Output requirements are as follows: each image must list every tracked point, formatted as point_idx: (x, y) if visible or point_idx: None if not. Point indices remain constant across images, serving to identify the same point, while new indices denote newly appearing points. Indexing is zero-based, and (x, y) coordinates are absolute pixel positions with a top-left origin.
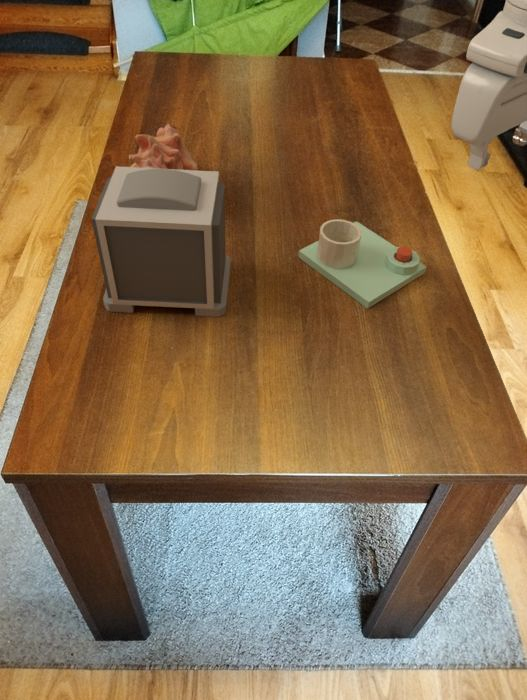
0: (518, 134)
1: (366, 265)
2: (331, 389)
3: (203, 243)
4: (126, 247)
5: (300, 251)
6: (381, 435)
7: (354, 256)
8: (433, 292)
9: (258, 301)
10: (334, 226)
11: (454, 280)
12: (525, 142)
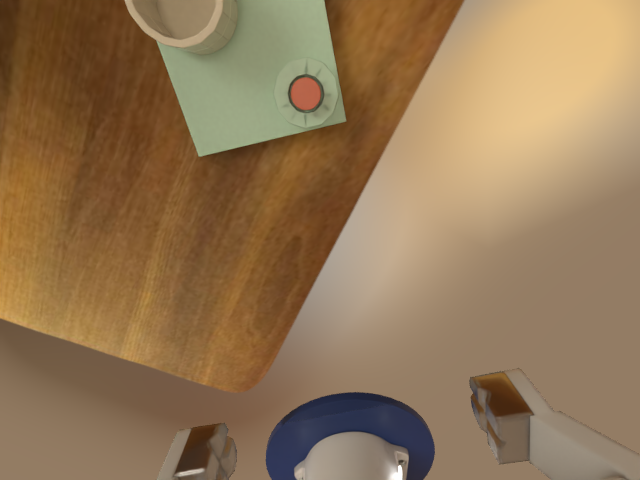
0: (488, 420)
1: (241, 65)
2: (92, 258)
3: None
4: None
5: None
6: (128, 326)
7: (209, 49)
8: (326, 167)
9: (17, 52)
10: None
11: (378, 157)
12: (483, 428)
